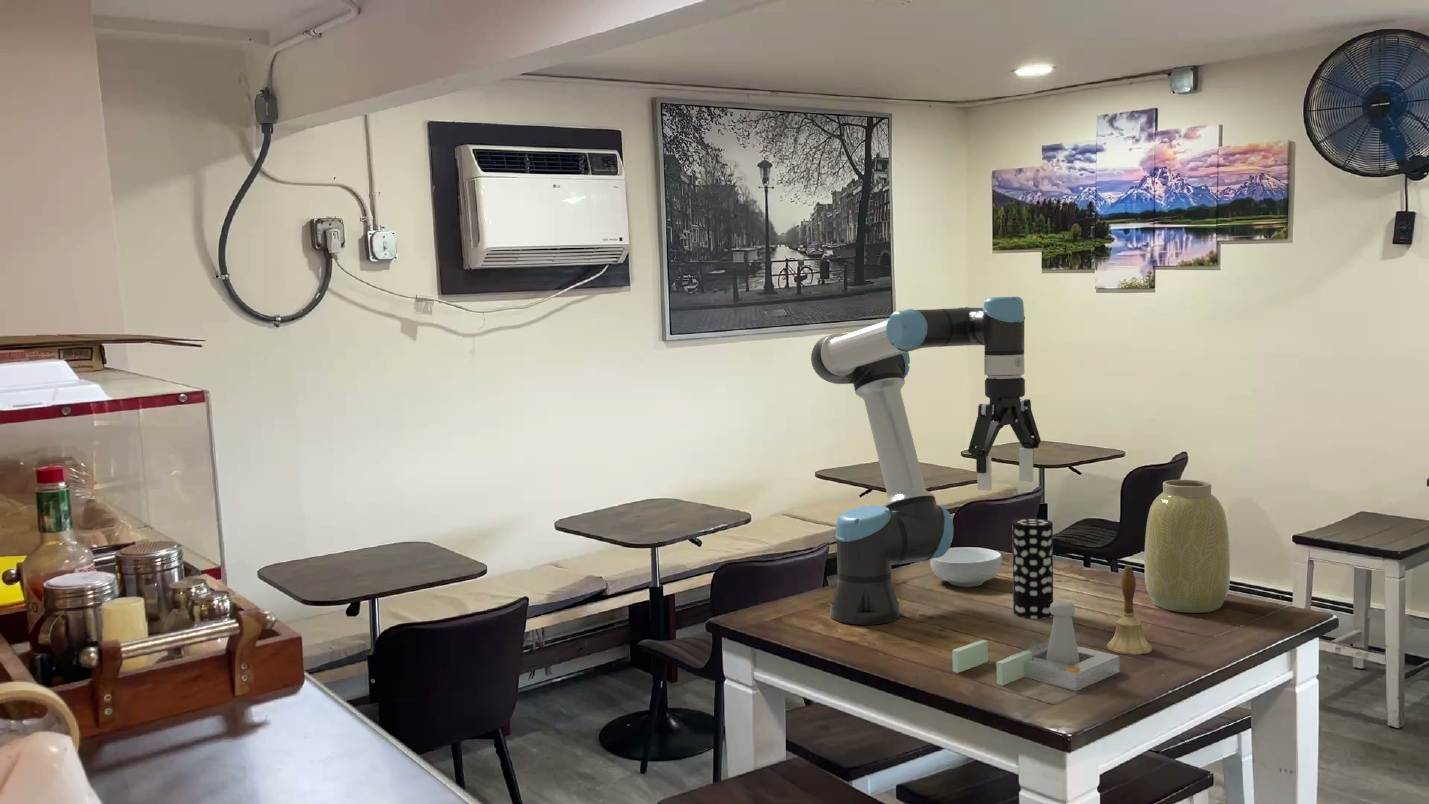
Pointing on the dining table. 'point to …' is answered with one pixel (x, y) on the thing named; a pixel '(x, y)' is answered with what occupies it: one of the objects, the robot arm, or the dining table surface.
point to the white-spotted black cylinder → (1032, 568)
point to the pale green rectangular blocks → (978, 655)
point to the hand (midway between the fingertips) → (1005, 485)
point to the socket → (1070, 667)
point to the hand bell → (1129, 622)
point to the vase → (1187, 549)
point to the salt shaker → (1062, 635)
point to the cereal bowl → (967, 566)
